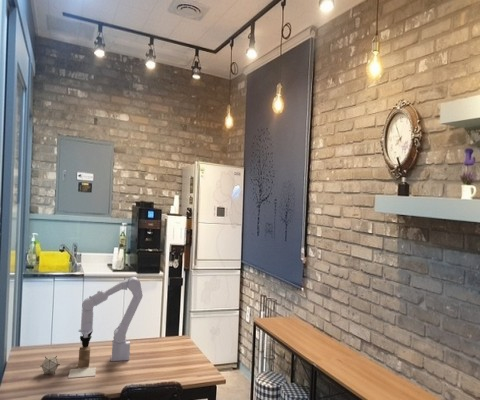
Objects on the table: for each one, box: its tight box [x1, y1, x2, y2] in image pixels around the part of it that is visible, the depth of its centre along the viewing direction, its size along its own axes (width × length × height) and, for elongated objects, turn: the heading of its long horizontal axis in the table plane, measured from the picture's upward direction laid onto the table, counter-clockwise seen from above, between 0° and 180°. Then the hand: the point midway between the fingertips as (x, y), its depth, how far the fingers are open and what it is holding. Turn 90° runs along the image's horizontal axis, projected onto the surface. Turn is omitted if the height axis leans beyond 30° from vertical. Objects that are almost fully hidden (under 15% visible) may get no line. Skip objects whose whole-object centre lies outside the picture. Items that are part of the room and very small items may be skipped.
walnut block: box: [77, 346, 91, 369], centre depth 201 cm, size 5×5×9 cm
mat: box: [67, 367, 97, 379], centre depth 193 cm, size 12×10×1 cm
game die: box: [39, 355, 61, 376], centre depth 191 cm, size 9×8×10 cm
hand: (85, 347), depth 209 cm, fingers open, 7 cm apart
